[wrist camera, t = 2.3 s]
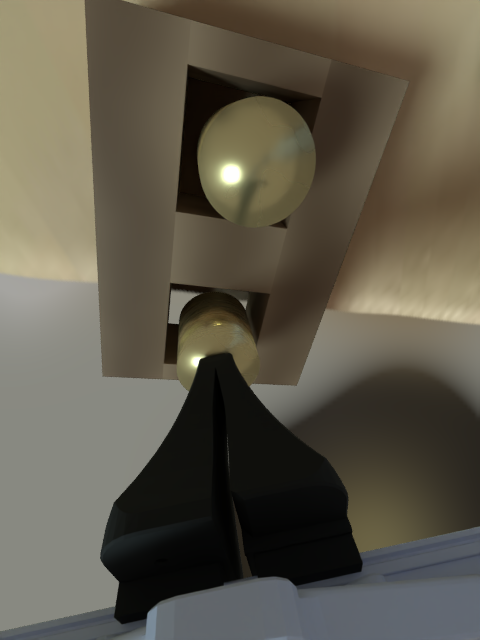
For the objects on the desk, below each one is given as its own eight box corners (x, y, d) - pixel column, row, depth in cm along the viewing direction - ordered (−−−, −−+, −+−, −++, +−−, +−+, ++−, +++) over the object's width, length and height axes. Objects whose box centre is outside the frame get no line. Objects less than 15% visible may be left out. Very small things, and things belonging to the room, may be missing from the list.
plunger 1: (295, 113, 12) (332, 112, 9) (273, 208, 14) (297, 234, 11) (202, 92, 12) (207, 81, 8) (192, 194, 13) (192, 219, 10)
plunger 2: (253, 295, 16) (268, 338, 13) (240, 351, 18) (250, 400, 15) (182, 288, 16) (180, 331, 12) (176, 346, 17) (173, 397, 14)
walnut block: (360, 89, 15) (409, 81, 12) (280, 345, 22) (296, 385, 19) (112, 23, 13) (84, -11, 9) (117, 333, 20) (102, 376, 17)
